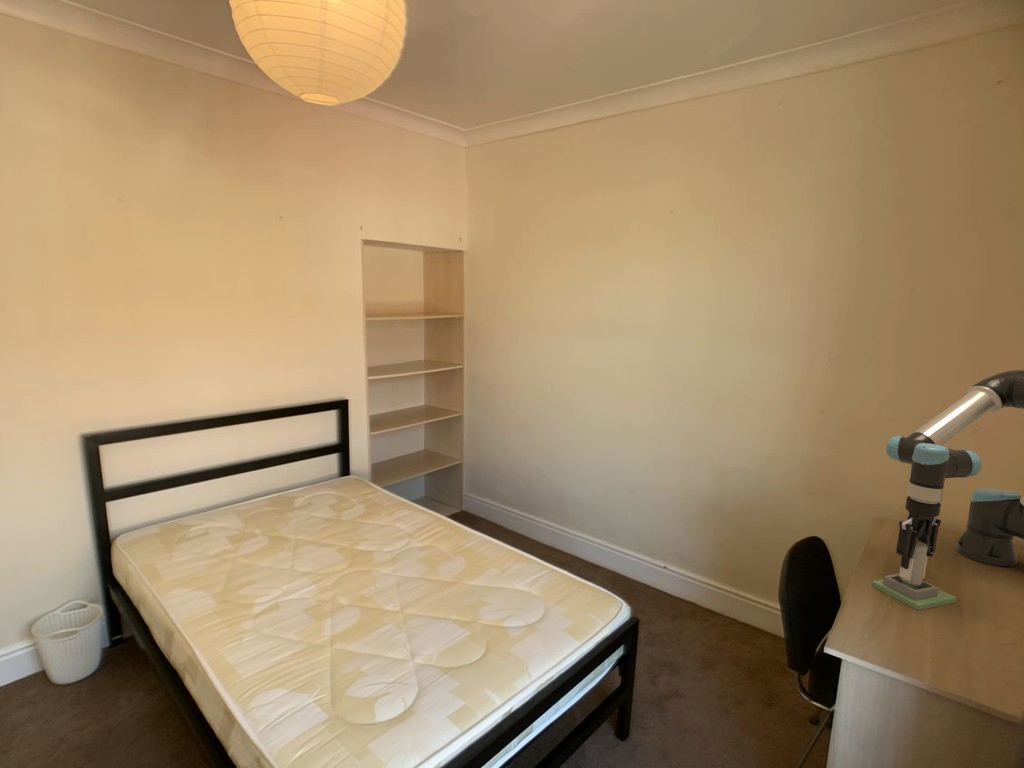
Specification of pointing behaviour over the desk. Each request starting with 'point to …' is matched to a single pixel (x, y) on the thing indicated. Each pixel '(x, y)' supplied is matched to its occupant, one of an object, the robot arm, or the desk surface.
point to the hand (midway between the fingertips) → (911, 576)
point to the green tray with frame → (913, 592)
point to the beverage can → (917, 564)
